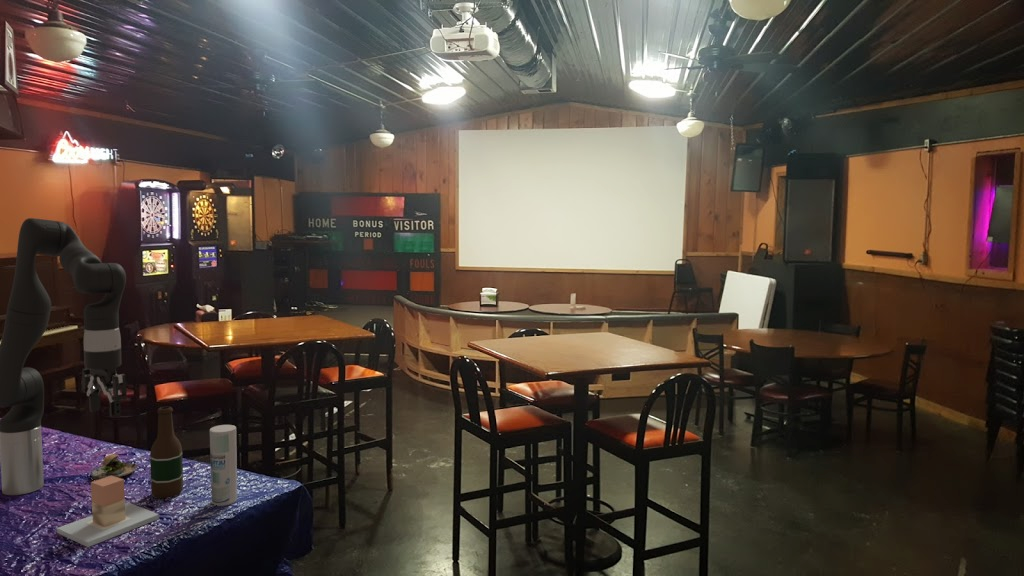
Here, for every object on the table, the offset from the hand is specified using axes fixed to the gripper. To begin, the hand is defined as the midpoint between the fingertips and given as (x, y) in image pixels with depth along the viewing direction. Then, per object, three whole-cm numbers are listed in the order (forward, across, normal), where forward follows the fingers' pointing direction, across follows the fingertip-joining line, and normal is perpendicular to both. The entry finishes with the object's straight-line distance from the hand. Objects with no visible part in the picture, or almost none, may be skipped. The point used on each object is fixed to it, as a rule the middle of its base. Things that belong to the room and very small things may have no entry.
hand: (105, 413), depth 158 cm
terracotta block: (+22, 0, 0) cm, 22 cm away
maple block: (+27, 0, 0) cm, 27 cm away
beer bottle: (+28, +6, -19) cm, 35 cm away
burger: (+29, +31, -19) cm, 46 cm away
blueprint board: (+28, 0, 0) cm, 28 cm away
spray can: (+28, -11, -24) cm, 39 cm away
